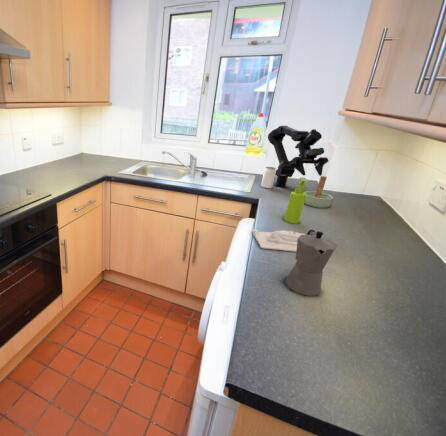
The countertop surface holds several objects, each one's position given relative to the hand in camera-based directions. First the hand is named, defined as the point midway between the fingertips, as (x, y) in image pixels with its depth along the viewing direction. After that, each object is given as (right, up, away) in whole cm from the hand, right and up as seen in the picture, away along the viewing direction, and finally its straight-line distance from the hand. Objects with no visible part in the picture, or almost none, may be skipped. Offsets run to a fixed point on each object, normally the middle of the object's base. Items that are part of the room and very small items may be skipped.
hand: (312, 175), depth 158 cm
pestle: (0, -15, -2) cm, 15 cm away
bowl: (0, -15, -2) cm, 15 cm away
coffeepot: (-49, -43, -70) cm, 96 cm away
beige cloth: (-40, -33, -45) cm, 68 cm away
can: (-13, -4, +24) cm, 28 cm away
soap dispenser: (-26, -25, -25) cm, 44 cm away
